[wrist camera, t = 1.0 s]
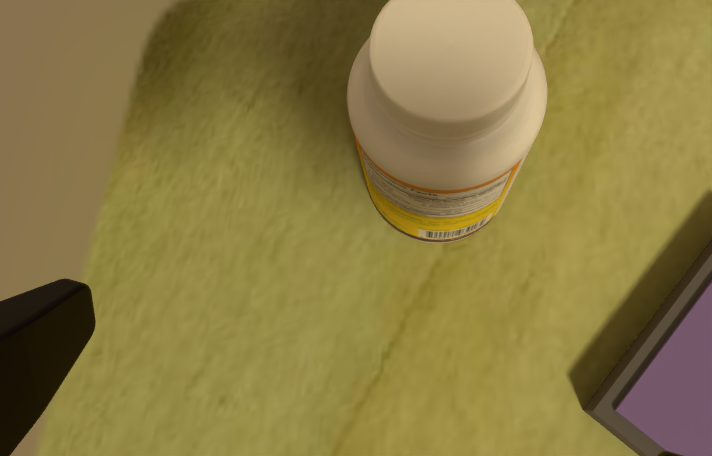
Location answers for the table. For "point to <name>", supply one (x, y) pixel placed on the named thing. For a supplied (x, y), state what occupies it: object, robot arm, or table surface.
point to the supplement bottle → (445, 112)
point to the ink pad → (666, 375)
